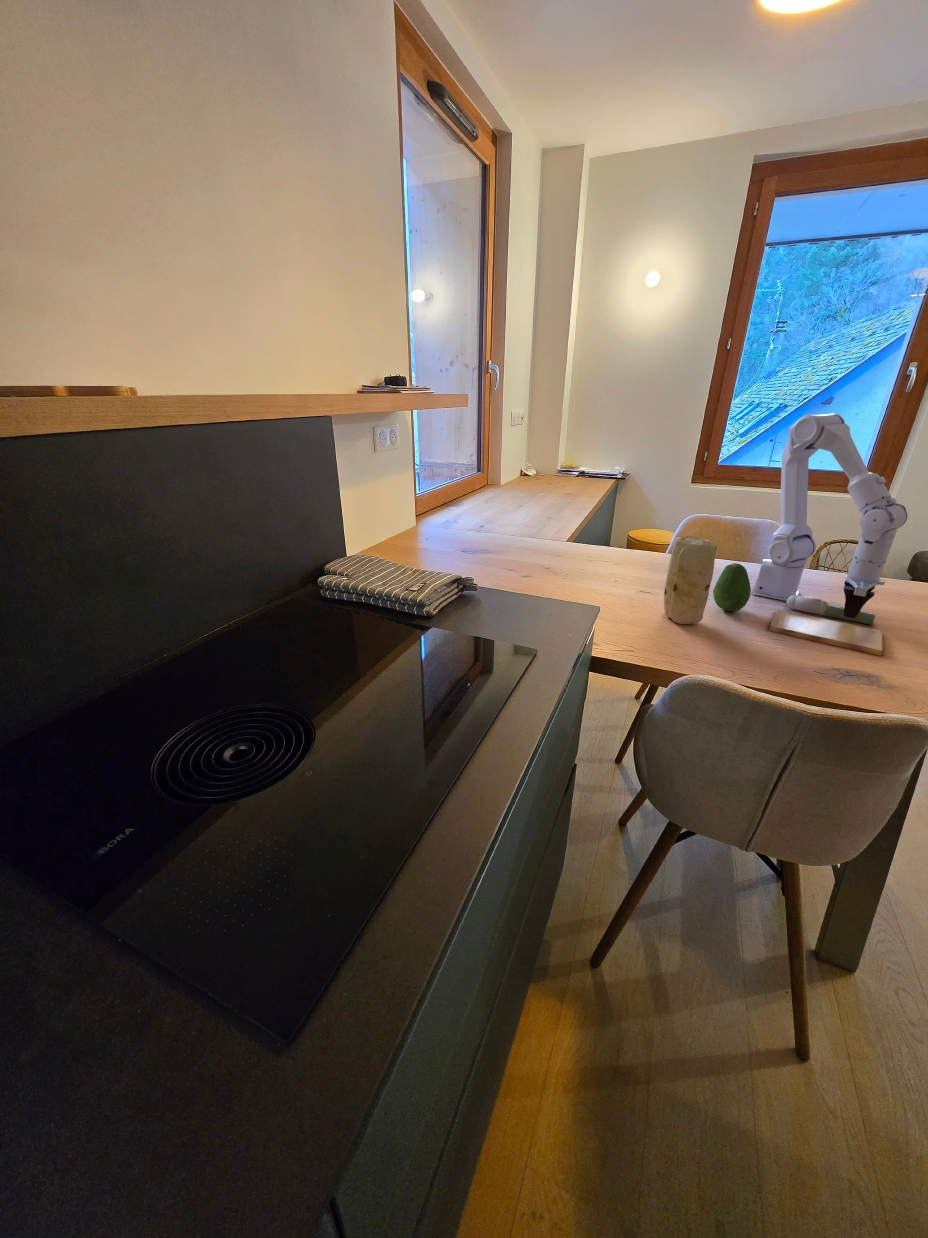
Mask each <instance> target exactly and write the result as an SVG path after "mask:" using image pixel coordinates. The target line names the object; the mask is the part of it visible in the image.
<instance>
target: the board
mask: <svg viewBox="0 0 928 1238" xmlns="http://www.w3.org/2000/svg"><path fill="white" fill-rule="evenodd" d="M769 627H770V628H769V631H770V632H773V633H774V632H775V633H778V634H782V635H787V636H792V637H795V638H796V637H797V638H801V639H805V640H808V641H809V640H810V641H813V642H818V643H823V644H827V645H832V646H836V647H839V648H845V649H849V650H854V651H858V652H863V653H867V654H871V655H876V656H881V655H882V653H883V630H881V629H875V628H870V627H866V626H862V625H856V624H852V623H846V622H841V621H836V620H832V619H826V618H822V617H817V616H812V615H808V614H804V613H798V612H794V611H793V612H792V611H788V610H783V609H778V608H777V609H776V612H775V614H774V616H773V619H772V622H771V624H770V626H769Z"/></svg>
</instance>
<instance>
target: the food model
mask: <svg viewBox="0 0 928 1238" xmlns="http://www.w3.org/2000/svg"><path fill="white" fill-rule="evenodd" d="M717 549H718V545H717V544H716V543H715V542H713V541H711V540H708V539H705V538H703V537H701V536H700V537H699V536H696V535H684V536H679V537H678V536H677V538H675V540H674V543H673V547H672V551H671V553H670V557H669V563H668V568H667V573H666V578H665V584H664V592H663V609H664V614H665V616H666V617H668V618H670V619H671V620H672V621H673V622H674V623H676V624H679V625H689V624H690V625H691V624H698V623H701V622H702V621H703V618H704V613H705V609H706V606H707V602H708V600H709V599H708V598H709V594H710V589H711V584H712V580H713V575H714V570H715V561H716V560H715V559H716V554H717Z"/></svg>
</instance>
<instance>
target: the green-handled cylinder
mask: <svg viewBox="0 0 928 1238" xmlns="http://www.w3.org/2000/svg"><path fill="white" fill-rule="evenodd" d="M785 602H786V606H787V607H788V609H791V610H795V611H799V612H804V613H809V614H815V615H824V616H825V617H829V618H834V619H841V620H845V621H849V622H855V623H860V624H865V625H870V626H873V624H874V621H875V619H876V613H871V612H866V611H862V610H860V612H859V613H858V615H857V616H856V617H855V618H850V617H845V616H844V608H845V607H841V606H835V605H830V604H829V603H828V602H827V601H826V600H824V599H820V598H816V597H810V596H805V595H799V594H798V595H792V596H790V597H789V598H788V599H787V601H785Z"/></svg>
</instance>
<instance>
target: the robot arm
mask: <svg viewBox="0 0 928 1238" xmlns="http://www.w3.org/2000/svg"><path fill="white" fill-rule="evenodd" d="M788 429H789V433H788V434H789V435H788V439H787V441H786V443H785V445H784V448H783V450H782V452H781V471H780V473H781V474H780V475H781V476H780V479H781V480H780V483H781V484H780V518H779V519H780V522H779V524H780V526H779V527H778V528H777V529H776V530H775V531H774V533H772V540H771V542H770V545H769V547H768V556H769V558H770V559H767V558H764V559H763V560H762V562H761V565H760V569H759V571H758V576H757V578H756V581H755V584H754V585H755V588H754V591H753V595H754V596H759V597H763V598H764V597H765V598H770V599H775V600H778V601H779V600H780V601H784V602H787V599H788V598H789V597H790V596H792V595H799V594H800V592H799V590H798V589H799V586H800V583H801V579H802V577H803V576H802V575H803V572H804V570H805V565H806V563H807V560H808V559H809V558H811V557H812V556H813V555H814V554H815V553H816V550H817V549H816V548H817V545H816V541H815V540H814V537H813V530H812V528H811V527H810V526H809V525H808V522H807V521H808V493H809V492H808V490H809V489H808V488H809V459H810V458H811V457H812V456H813V455H814V454H815V453H817V452H818V451H819V450H822V451H827V452H830V453H831V454H832V456H833V458H834V459H835V461H836V462H837V464H838V465H839V467H840V468H841V470H842V471H843V472H844V474H845V476H846V477H847V478H848V480H849V482H848V484H847V491H848V493H849V495H850V497H851V498H852V501H853V502H854V503H855V505H856V507H857V509H858V511H859V513H860V514H861V515H862V516H860V518H859V525H860V527H861V530H862V531H861V535H860V537H859V540H858V543H857V546H856V549H855V551H854V555H853V557H852V559H851V563H850V566H849V569H848V571H847V573H846V575H845V577H844V578H845V580H844V583H843V584H844V586H843V593H844V600H845V601H844V607H843V608H844V616H845V617H850V618H855V617H856V616H857V615H858V613H859V612H860V611H862V609H863V607H864V606H865V605H866V603H867V602H869V600H871V599H872V598H873V597H874V596H875V594H876V593H875V591H873V590H874V589H875V588H876V586H878V585H880V586H885V583H886V580H885V579H881V578H880V577H881V576H882V574H883V573H882V572H883V569H884V568H885V564H886V561H887V559H888V556H889V554H890V551H891V548H892V546H893V543H894V540H895V537H896V535H897V531H898V529H900V528H902V527H903V526H904V525H905V524H906V523H907V520H908V511H907V507H906V506H905V505H903V504H901V503H899V502H897V499H896V498H895V497H893V496H892V495H891V494H890V492H889V491H888V488H887V487H886V485H885V483H886V482H887V480H886V478H885V477H884V476H880V475H879V474H878V473H875V472H870V471H868V468H867V466H866V464H865V462H864V460H863V458H862V455H861V454H860V452H859V450H858V448H857V446H856V443H855V441H854V440H853V438H852V436H851V428H850V426H849V425H848V424H847V423H846V421H845V418H844V417H843V416H842V415H841V414H839V413H836V412H833V413H826V414H806V415H803V416H802V417H800V418H798V420H796V422H795V423H793V424H792V425H791V426H790V427H789V428H788Z"/></svg>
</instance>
